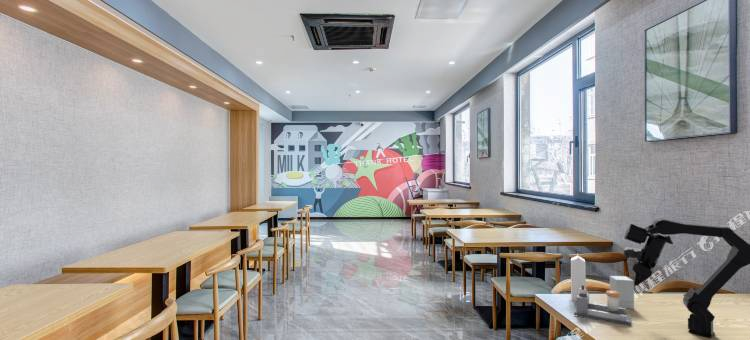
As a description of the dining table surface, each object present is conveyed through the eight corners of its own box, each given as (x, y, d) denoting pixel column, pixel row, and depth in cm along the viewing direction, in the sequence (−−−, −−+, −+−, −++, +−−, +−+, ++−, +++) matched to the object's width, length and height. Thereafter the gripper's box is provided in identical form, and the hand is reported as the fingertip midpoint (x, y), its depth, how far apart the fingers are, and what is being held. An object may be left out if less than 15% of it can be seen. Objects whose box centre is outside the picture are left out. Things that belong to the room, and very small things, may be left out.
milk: (571, 300, 177) (570, 254, 177) (571, 296, 183) (570, 251, 183) (586, 302, 175) (585, 255, 175) (585, 298, 180) (584, 252, 180)
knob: (620, 313, 156) (619, 291, 156) (620, 317, 151) (619, 295, 151) (606, 310, 159) (606, 289, 159) (606, 315, 154) (605, 293, 154)
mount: (630, 317, 156) (630, 298, 156) (630, 326, 147) (630, 305, 147) (576, 308, 167) (576, 290, 167) (574, 315, 158) (574, 296, 158)
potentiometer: (587, 294, 161) (587, 285, 161) (586, 296, 159) (586, 287, 159) (579, 293, 163) (578, 284, 163) (578, 295, 160) (578, 285, 160)
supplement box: (634, 308, 166) (634, 280, 166) (616, 307, 167) (615, 279, 167) (626, 303, 173) (626, 276, 173) (609, 302, 174) (609, 275, 174)
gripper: (634, 234, 160) (620, 264, 165) (625, 245, 146) (611, 278, 151) (664, 246, 153) (649, 277, 158) (659, 258, 140) (642, 293, 144)
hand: (637, 281), depth 153 cm, fingers open, 9 cm apart
